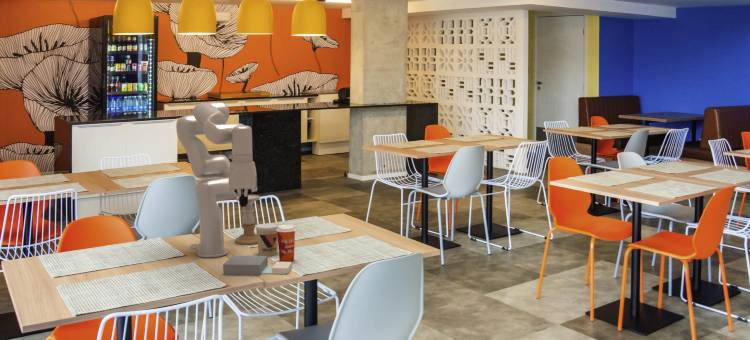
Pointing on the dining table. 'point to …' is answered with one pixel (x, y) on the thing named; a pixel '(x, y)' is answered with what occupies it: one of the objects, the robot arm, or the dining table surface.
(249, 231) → the candle holder
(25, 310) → the dining table surface
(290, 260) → the paper cup
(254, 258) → the grey flat block
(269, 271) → the mat
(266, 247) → the coffee cup
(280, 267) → the pale pink flat block
